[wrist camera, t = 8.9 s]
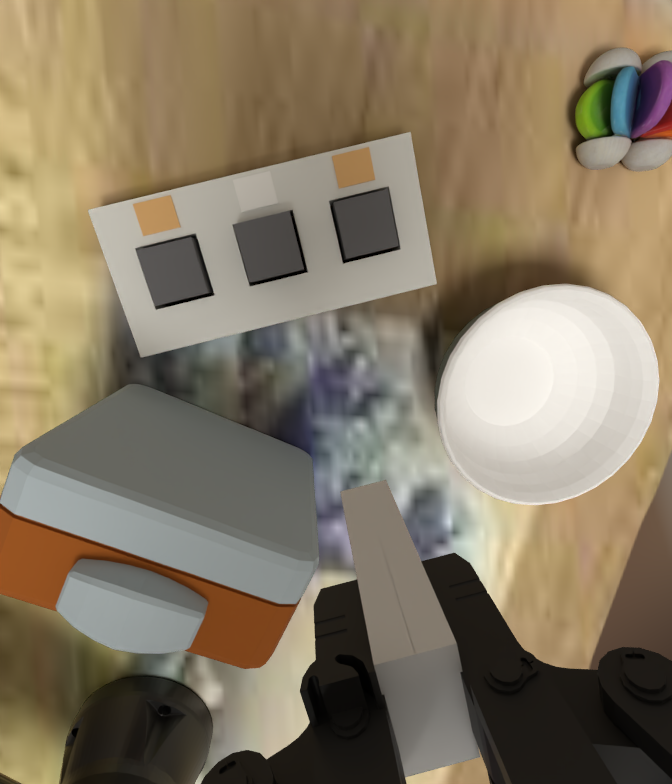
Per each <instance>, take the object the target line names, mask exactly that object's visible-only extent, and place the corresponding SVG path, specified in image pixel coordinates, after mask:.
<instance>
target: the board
mask: <svg viewBox="0 0 672 784" xmlns="http://www.w3.org/2000/svg"><path fill="white" fill-rule="evenodd" d="M386 189H388V192H389V198H390V203H391V208H392V213H393V219H394V224H395V229H396V234H397V239H398V245H399V246H397V247H394V248H393V251H392V252H388V253H384V254H380V255H376V256H372V257H368V258H364V259H360V260H356V261H352V262H348V263H344V264H343V262H342V257H341V253H340V248H339V244H338V239H337V235H336V231H335V226H334V222H333V217H332V213H331V208H330V206H333V203H334V202H337V201H341V200H345V199H349V198H353V197H357V196H361V195H365V194H369V193H373V192H378V191H382V190H386ZM285 211H290V215H291V216H292V215H293V216H294V220H295V224H296V228H297V232H298V237H299V241H300V245H301V249H302V253H303V257H304V261H305V265H306V269H307V273H303V274H299V275H295V276H291V277H287V278H283V279H279V280H275V281H271V282H267V283H263V284H259V285H254V286H253V283H252V282H249V278H248V275H247V271H246V268H245V264H244V261H243V257H242V253H241V250H240V246H239V243H238V239H237V236H236V232H235V229H234V225H233V224H236V223H240V222H244V221H248V220H253V219H257V218H261V217H265V216H269V215H273V214H277V213H281V212H285ZM88 212H89V215H90V217H91V220H92V223H93V226H94V229H95V231H96V234H97V237H98V240H99V242H100V245H101V248H102V251H103V254H104V256H105V259H106V262H107V265H108V268H109V270H110V273H111V276H112V279H113V281H114V284H115V287H116V290H117V293H118V295H119V298H120V301H121V304H122V306H123V309H124V312H125V315H126V318H127V320H128V323H129V326H130V329H131V332H132V334H133V337H134V340H135V343H136V345H137V348H138V351H139V354H140V357H141V358H142V357H146V356H150V355H154V354H158V353H162V352H166V351H170V350H174V349H178V348H182V347H186V346H190V345H194V344H198V343H202V342H206V341H210V340H214V339H218V338H222V337H226V336H230V335H234V334H238V333H242V332H246V331H250V330H254V329H258V328H262V327H266V326H270V325H274V324H278V323H282V322H286V321H290V320H294V319H298V318H302V317H306V316H311V315H315V314H319V313H323V312H327V311H331V310H335V309H339V308H343V307H347V306H351V305H355V304H359V303H363V302H367V301H371V300H375V299H379V298H383V297H387V296H391V295H395V294H399V293H403V292H407V291H411V290H415V289H419V288H423V287H427V286H431V285H435V284H437V282H436V276H435V270H434V265H433V259H432V253H431V247H430V242H429V236H428V230H427V224H426V219H425V213H424V207H423V201H422V196H421V190H420V184H419V178H418V173H417V167H416V161H415V155H414V150H413V144H412V138H411V132H408V133H404V134H400V135H395V136H391V137H387V138H383V139H379V140H375V141H371V142H366V143H362V144H358V145H354V146H350V147H346V148H342V149H338V150H333V151H329V152H325V153H321V154H317V155H313V156H309V157H304V158H300V159H296V160H292V161H288V162H284V163H280V164H276V165H271V166H267V167H263V168H259V169H255V170H251V171H247V172H242V173H238V174H234V175H230V176H226V177H222V178H218V179H214V180H209V181H205V182H201V183H197V184H193V185H189V186H185V187H180V188H176V189H172V190H168V191H164V192H160V193H156V194H152V195H147V196H143V197H139V198H135V199H131V200H127V201H123V202H118V203H114V204H110V205H106V206H102V207H98V208H94V209H90V210H88ZM189 237H192V238H194V239H198V242H199V246H200V249H201V252H202V255H203V259H204V262H205V265H206V269H207V272H208V275H209V278H210V282H211V285H212V288H213V292H214V296H210V297H206V298H202V299H198V300H194V301H190V302H186V303H182V304H178V305H173V306H169V307H166V305H165V304H164V305H158V306H155V304H154V301H153V298H152V295H151V292H150V289H149V286H148V284H147V281H146V278H145V275H144V272H143V269H142V266H141V263H140V260H139V257H138V254H137V251H136V250H140V249H144V248H148V247H152V246H156V245H161V244H165V243H169V242H173V241H177V240H181V239H185V238H189Z"/></svg>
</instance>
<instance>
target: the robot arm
mask: <svg viewBox="0 0 672 784" xmlns="http://www.w3.org/2000/svg"><path fill="white" fill-rule="evenodd" d="M341 498H342V503H343V508H344V513H345V518H346V523H347V529H348V534H349V539H350V544H351V549H352V555H353V560H354V565H355V570H356V575H357V580H354V581H350V582H346V583H342V584H338V585H334V586H331V587H327V588H323V589H321V590H320V592H319V595H318V597H317V599H316V601H315V604H314V623H315V639H316V641H315V649H316V661H315V662H313V663H312V664H311V665H310V666H309V668H308V670H307V671H306V673H305V675H304V676H303V678H302V683H301V688H300V693H301V696H302V699H303V702H304V705H305V708H306V711H307V714H308V717H309V720H310V723H309V725H308V727H307V728H306V729H305V731H304V732H303V733H302V734H301V735H300V736H299V738H297V739H296V740H295V741H293V742H292V743H291V744H290V745H288V746H287V747H285V748H284V749H282V750H281V751H279V752H278V753H276V754H274V755H273V756H271V757H270V758H268V759H267V760H266V759H265V758H264V757H263V756H262V755H261V754H260V753H258V752H253V751H249V750H245V751H241V752H236V753H232V754H231V755H229V756H227V757H226V758H224V759H223V760H221V761H219V762H218V763H217V764H216V765H215V766H214V767H213V768H212V769H211V770H210V772H209V773H208V774H207V775H206V776H205V777H204V779H203V781H202V783H201V784H406V780H405V777H408V776H412V775H415V774H419V773H423V772H427V771H430V770H434V769H438V768H441V767H445V766H449V765H452V764H456V763H460V762H464V761H467V760H471V759H475V758H478V757H480V754H479V750H480V752H481V755H482V758H483V760H484V763H485V765H486V768H487V771H488V776H489V781H490V784H672V661H671V660H669V659H667V658H665V657H663V656H662V655H660V654H658V653H655V652H652V651H649V650H645V649H642V648H629V647H622V648H618V649H615V650H612V651H609V652H608V653H607V654H606V655H605V656H604V657H603V658H602V659H601V660H600V662H599V667H598V670H588V669H568V668H561V667H555V666H552V665H549V664H546V663H543V662H541V661H539V660H538V659H536V658H535V657H534V655H533V654H531V653H529V652H527V651H525V650H524V649H523V648H522V647H521V645H520V644H519V643H518V642H517V640H516V638H515V637H514V635H513V633H512V632H511V630H510V628H509V627H508V625H507V623H506V622H505V620H504V619H503V617H502V615H501V614H500V612H499V610H498V609H497V607H496V605H495V604H494V602H493V600H492V599H491V597H490V595H489V594H488V593H487V591H486V589H485V587H484V586H483V584H482V582H481V581H480V580H479V577H478V576H477V574H476V572H475V571H474V569H473V567H472V566H471V564H470V563H469V562H467V561H466V560H465V559H463V558H462V557H460V556H459V555H457V554H456V553H452V554H448V555H444V556H440V557H436V558H432V559H429V560H425V561H421V560H420V558H419V555H418V553H417V551H416V548H415V546H414V544H413V541H412V539H411V537H410V535H409V532H408V530H407V528H406V525H405V523H404V521H403V518H402V516H401V514H400V512H399V509H398V507H397V505H396V502H395V500H394V498H393V495H392V493H391V491H390V488H389V486H388V484H387V482H386V480H384V481H380V482H376V483H372V484H368V485H364V486H360V487H357V488H353V489H349V490H345V491H341ZM211 738H212V720H211V717H210V714H209V712H208V710H207V708H206V706H205V705H204V703H203V702H202V701H201V700H200V699H199V697H198V696H196V695H195V694H194V693H193V692H192V691H190V690H189V689H187V688H186V687H184V686H182V685H180V684H178V683H175V682H173V681H169V680H166V679H162V678H156V677H131V678H125V679H121V680H118V681H115V682H112V683H110V684H107V685H105V686H104V687H102V688H100V689H99V690H97V691H96V692H94V693H93V694H92V695H91V696H90V697H89V698H88V699H87V700H86V701H85V702H84V704H83V705H82V707H81V709H80V710H79V712H78V714H77V716H76V718H75V720H74V722H73V724H72V726H71V728H70V731H69V734H68V736H67V740H66V746H65V751H64V757H63V763H62V769H61V774H60V780H59V784H195V782H196V780H197V778H198V776H199V774H200V772H201V771H202V769H203V767H204V765H205V763H206V760H207V757H208V753H209V748H210V743H211ZM478 747H479V749H478ZM0 784H21V783H19V782H17V781H15V780H13V779H11V778H10V777H8V776H6V775H4V774H2V773H0Z"/></svg>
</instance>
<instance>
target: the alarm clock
mask: <svg viewBox="0 0 672 784" xmlns="http://www.w3.org/2000/svg"><path fill="white" fill-rule="evenodd" d="M318 565H319V547H318V532H317V518H316V504H315V490H314V475H313V461H312V458H311V457H310V455H309V454H308V453H306V452H305V451H303V450H301V449H300V448H297V447H295V446H292V445H290V444H287V443H285V442H283V441H280V440H278V439H275V438H273V437H271V436H268V435H266V434H263V433H261V432H258V431H256V430H253V429H251V428H248V427H246V426H243V425H241V424H238V423H236V422H234V421H231V420H229V419H226V418H224V417H221V416H219V415H216V414H214V413H212V412H209V411H207V410H204V409H202V408H199V407H197V406H195V405H192V404H190V403H187V402H185V401H183V400H180V399H178V398H175V397H173V396H170V395H168V394H165V393H163V392H160V391H158V390H155V389H153V388H150V387H148V386H144V385H140V384H128V385H126V386H125V387H123V388H121V389H120V390H118V391H116V392H115V393H113V394H111V395H110V396H108V397H106V398H105V399H103V400H101V401H99V402H98V403H96V404H94V405H93V406H91V407H89V408H88V409H86V410H84V411H83V412H81V413H79V414H78V415H76V416H74V417H72V418H71V419H69V420H67V421H66V422H64V423H62V424H61V425H59V426H57V427H55V428H54V429H52V430H50V431H49V432H47V433H45V434H44V435H42V436H40V437H39V438H37V439H35V440H34V441H32V442H30V443H29V444H27V445H25V446H24V447H22V448H21V449H20V450H19V451H18V452H17V453H16V454H15V456H14V459H13V462H12V465H11V468H10V470H9V473H8V476H7V479H6V482H5V485H4V488H3V491H2V495H1V497H0V594H2V595H6V596H9V597H12V598H15V599H19V600H22V601H25V602H28V603H32V604H35V605H38V606H41V607H45V608H48V609H51V610H54V611H58V612H59V613H60V614H61V615H62V616H63V617H64V618H65V619H66V620H67V621H68V622H69V623H70V624H71V625H72V626H73V627H74V628H76V629H77V630H79V631H80V632H82V633H83V634H85V635H86V636H88V637H89V638H91V639H92V640H94V641H96V642H98V643H101V644H103V645H105V646H107V647H109V648H111V649H113V650H119V651H125V652H132V653H152V654H163V653H169V652H176V651H183V650H185V651H188V652H191V653H195V654H198V655H201V656H204V657H208V658H211V659H214V660H217V661H221V662H224V663H227V664H230V665H234V666H237V667H240V668H244V669H249V668H260V667H261V666H263V665H264V664H266V662H267V661H268V660H269V658H270V657H271V655H272V654H273V652H274V650H275V648H276V647H277V645H278V643H279V641H280V639H281V637H282V635H283V633H284V631H285V629H286V627H287V625H288V623H289V621H290V619H291V617H292V615H293V613H294V612H295V610H296V608H297V606H298V604H299V602H300V600H301V597H302V596H303V594H304V592H305V590H306V588H307V586H308V584H309V582H310V580H311V578H312V577H313V575H314V573H315V571H316V569H317V567H318Z"/></svg>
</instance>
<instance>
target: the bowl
mask: <svg viewBox="0 0 672 784" xmlns="http://www.w3.org/2000/svg"><path fill="white" fill-rule="evenodd" d="M658 387H659V373H658V362H657V357H656V354H655V351H654V348H653V344H652V341H651V339H650V337H649V335H648V334H647V332H646V330H645V328H644V327H643V325H642V323H641V322H640V320H639V319H638V318H637V317H636V316H635V315H634V314H633V313H632V312H631V311H630V310H629V309H628V307H627V306H626V305H624V304H623V303H621V302H620V301H618V300H616V299H615V298H613V297H612V296H610V295H609V294H607V293H604V292H601V291H599V290H596V289H593V288H591V287H588V286H580V285H573V284H554V285H542V286H539V287H536V288H532V289H529V290H525V291H522V292H519V293H517V294H515V295H513V296H511V297H509V298H507V299H505V300H503V301H501V302H499V303H497V304H495V305H493V306H491V307H490V308H488V309H486V310H484V311H483V312H481V313H480V314H479V315H478V316H476V317H475V318H474V319H472V320H471V321H470V322H469V323H468V324H467V325H466V326H465V327H464V328H463V329H462V330H461V331H460V333H459V334H458V335H457V336H456V337H455V339H454V340H453V342H452V343H451V345H450V347H449V348H448V350H447V352H446V353H445V355H444V358H443V361H442V363H441V366H440V368H439V371H438V375H437V381H436V386H435V411H436V415H437V419H438V427H439V431H440V435H441V440H442V444H443V446H444V448H445V450H446V452H447V454H448V456H449V459H450V461H451V462H452V464H453V465H454V466H455V467H456V469H457V470H458V471H459V473H460V474H461V475H462V476H463V477H464V478H465V479H466V480H467V481H468V482H470V483H471V484H472V485H473V486H474V487H476V488H477V489H478V490H480V491H482V492H484V493H486V494H488V495H490V496H492V497H494V498H496V499H499V500H503V501H507V502H510V503H514V504H526V505H541V504H550V503H557V502H561V501H564V500H567V499H571V498H574V497H577V496H579V495H581V494H583V493H585V492H587V491H589V490H591V489H593V488H595V487H597V486H598V485H600V484H601V483H602V482H604V481H605V480H607V479H608V478H609V477H611V476H612V475H613V474H614V473H615V472H616V471H617V470H618V469H619V468H620V467H621V466H622V465H623V464H624V463H625V462H626V461H628V459H629V458H630V457H631V455H632V454H633V453H634V451H635V450H636V448H637V447H638V446H639V444H640V443H641V441H642V439H643V437H644V435H645V433H646V431H647V429H648V427H649V425H650V423H651V420H652V417H653V413H654V410H655V407H656V403H657V397H658Z"/></svg>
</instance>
